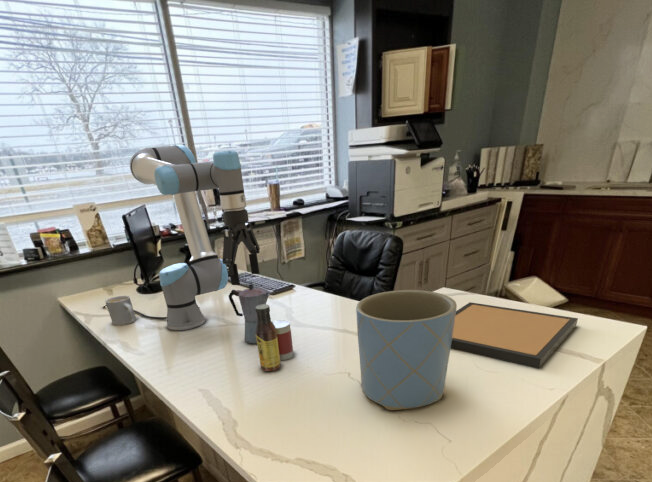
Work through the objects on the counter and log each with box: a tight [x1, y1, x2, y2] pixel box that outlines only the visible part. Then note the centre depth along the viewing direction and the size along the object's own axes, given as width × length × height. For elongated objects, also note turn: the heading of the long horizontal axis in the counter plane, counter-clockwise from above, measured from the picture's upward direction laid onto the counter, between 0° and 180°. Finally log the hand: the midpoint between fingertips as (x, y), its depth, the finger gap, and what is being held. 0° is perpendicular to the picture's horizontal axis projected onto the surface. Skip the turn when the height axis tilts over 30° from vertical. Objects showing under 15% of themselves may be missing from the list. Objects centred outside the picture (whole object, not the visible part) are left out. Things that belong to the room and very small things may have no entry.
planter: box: [355, 289, 458, 411], centre depth 101 cm, size 23×23×24 cm
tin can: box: [271, 319, 294, 361], centre depth 130 cm, size 7×7×11 cm
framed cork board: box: [450, 301, 579, 369], centre depth 132 cm, size 36×3×35 cm
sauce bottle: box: [255, 303, 281, 372], centre depth 121 cm, size 6×6×20 cm
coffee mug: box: [105, 295, 137, 326], centre depth 176 cm, size 13×10×10 cm
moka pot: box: [228, 283, 271, 345], centre depth 142 cm, size 10×15×20 cm, turn 78°
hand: (246, 279), depth 136 cm, fingers open, 13 cm apart
